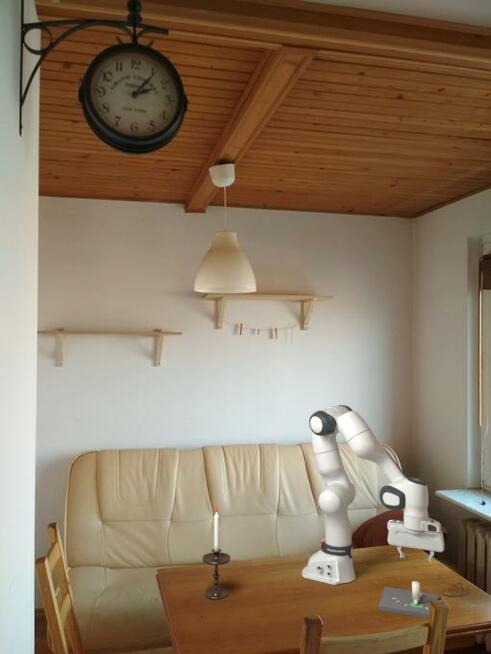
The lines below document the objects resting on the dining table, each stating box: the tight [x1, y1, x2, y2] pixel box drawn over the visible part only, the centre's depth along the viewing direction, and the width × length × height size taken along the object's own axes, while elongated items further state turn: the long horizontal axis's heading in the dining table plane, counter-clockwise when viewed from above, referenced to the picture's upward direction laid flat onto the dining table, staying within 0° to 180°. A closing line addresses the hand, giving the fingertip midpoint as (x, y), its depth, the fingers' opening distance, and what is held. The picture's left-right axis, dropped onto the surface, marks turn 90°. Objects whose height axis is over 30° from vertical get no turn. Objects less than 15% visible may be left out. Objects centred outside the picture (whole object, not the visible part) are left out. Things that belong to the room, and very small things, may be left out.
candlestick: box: [202, 503, 231, 601], centre depth 214 cm, size 11×11×35 cm
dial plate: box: [378, 586, 439, 620], centre depth 205 cm, size 20×18×2 cm
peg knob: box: [411, 580, 424, 604], centre depth 205 cm, size 10×4×7 cm, turn 156°
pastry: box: [442, 581, 468, 597], centre depth 215 cm, size 9×7×4 cm
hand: (415, 559), depth 203 cm, fingers open, 8 cm apart
